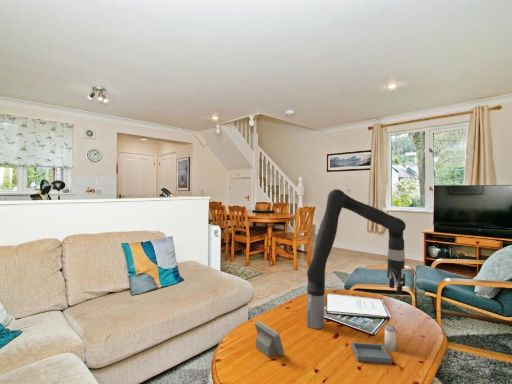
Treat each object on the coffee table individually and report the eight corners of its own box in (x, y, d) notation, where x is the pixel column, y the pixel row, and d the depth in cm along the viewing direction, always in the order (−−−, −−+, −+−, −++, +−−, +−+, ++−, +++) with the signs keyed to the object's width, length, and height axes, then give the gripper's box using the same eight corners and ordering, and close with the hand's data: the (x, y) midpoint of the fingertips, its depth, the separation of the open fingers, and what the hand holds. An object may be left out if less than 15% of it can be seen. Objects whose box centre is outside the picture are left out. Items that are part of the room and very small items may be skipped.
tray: (357, 361, 113) (357, 356, 113) (351, 347, 124) (351, 342, 124) (391, 364, 112) (391, 358, 112) (381, 349, 122) (381, 344, 122)
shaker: (386, 350, 121) (386, 328, 121) (383, 345, 126) (383, 323, 126) (397, 351, 121) (397, 329, 121) (393, 345, 125) (393, 324, 126)
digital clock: (286, 357, 116) (286, 332, 116) (267, 362, 112) (268, 337, 112) (268, 338, 130) (268, 316, 131) (251, 342, 127) (252, 320, 127)
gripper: (382, 254, 139) (382, 285, 139) (394, 261, 125) (393, 295, 125) (397, 255, 139) (396, 286, 139) (411, 262, 125) (410, 296, 124)
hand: (395, 290), depth 132 cm, fingers open, 8 cm apart
